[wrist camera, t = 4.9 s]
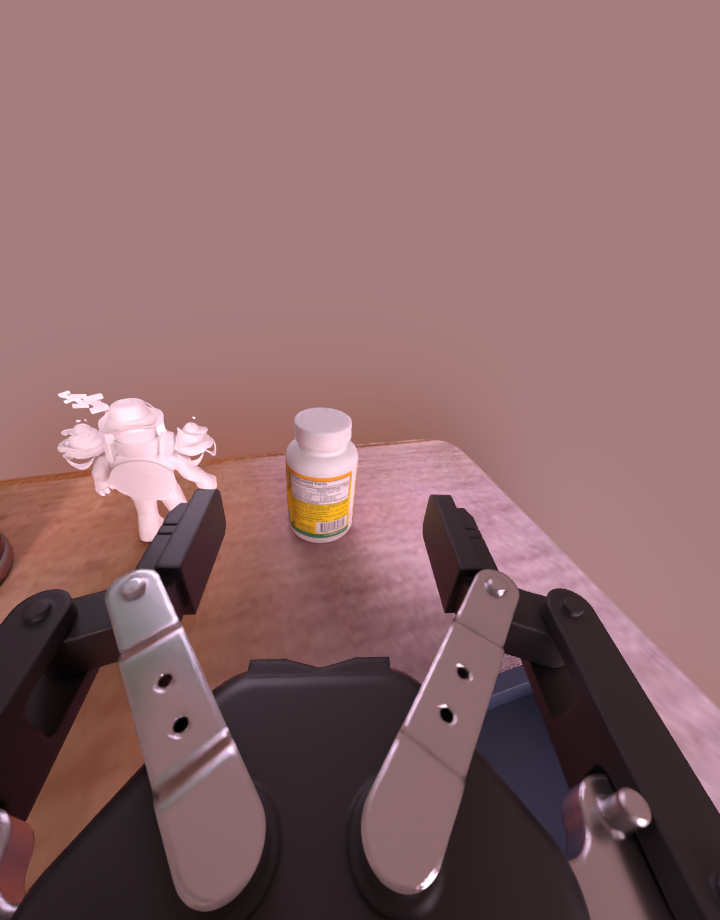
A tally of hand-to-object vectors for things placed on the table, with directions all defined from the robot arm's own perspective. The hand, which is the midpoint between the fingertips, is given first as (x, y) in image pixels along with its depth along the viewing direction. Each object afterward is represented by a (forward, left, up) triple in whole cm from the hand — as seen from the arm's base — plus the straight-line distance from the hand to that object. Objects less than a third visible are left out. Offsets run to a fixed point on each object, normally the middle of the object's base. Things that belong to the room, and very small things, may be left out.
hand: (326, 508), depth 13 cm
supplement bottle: (+3, +11, -12) cm, 16 cm away
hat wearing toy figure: (-9, +13, -12) cm, 20 cm away
